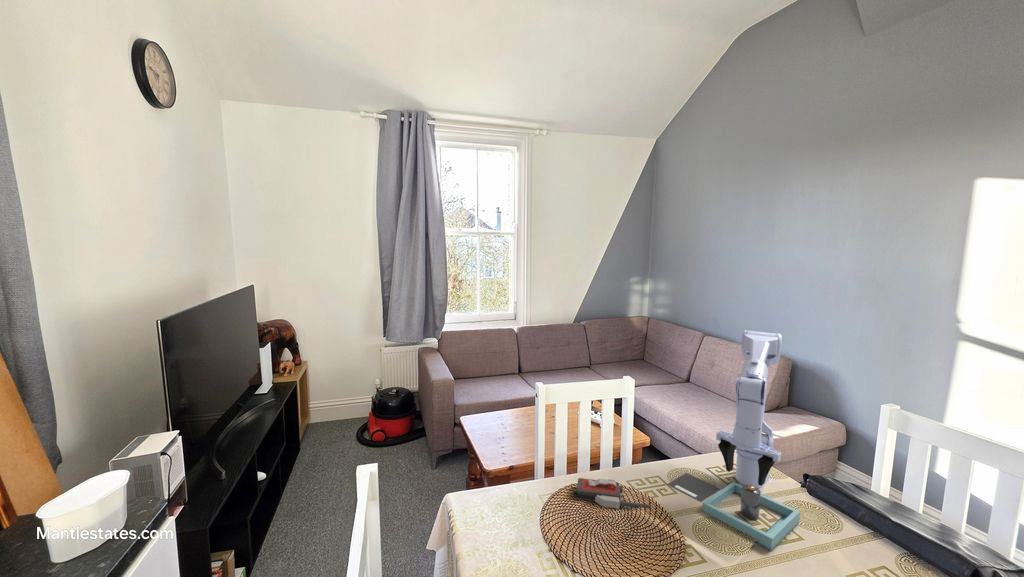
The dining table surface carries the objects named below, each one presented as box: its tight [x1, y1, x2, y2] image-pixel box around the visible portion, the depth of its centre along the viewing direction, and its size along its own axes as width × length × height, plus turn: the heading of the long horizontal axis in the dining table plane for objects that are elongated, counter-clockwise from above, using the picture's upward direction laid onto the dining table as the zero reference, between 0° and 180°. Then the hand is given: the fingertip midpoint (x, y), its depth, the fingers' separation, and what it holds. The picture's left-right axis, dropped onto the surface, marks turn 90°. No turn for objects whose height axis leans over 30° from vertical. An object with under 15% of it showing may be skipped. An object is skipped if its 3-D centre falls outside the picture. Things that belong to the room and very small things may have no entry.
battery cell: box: [740, 485, 762, 521], centre depth 102 cm, size 4×4×8 cm
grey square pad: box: [666, 472, 720, 503], centre depth 115 cm, size 10×10×1 cm
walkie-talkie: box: [572, 477, 652, 510], centre depth 111 cm, size 9×4×20 cm
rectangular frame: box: [701, 481, 801, 552], centre depth 103 cm, size 16×16×3 cm
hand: (745, 476), depth 104 cm, fingers open, 7 cm apart
